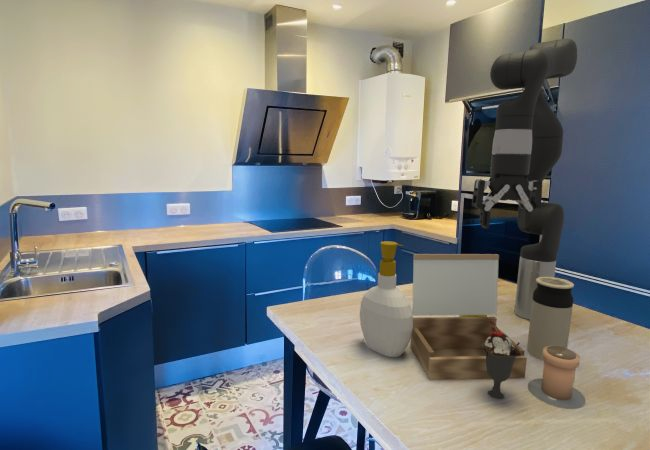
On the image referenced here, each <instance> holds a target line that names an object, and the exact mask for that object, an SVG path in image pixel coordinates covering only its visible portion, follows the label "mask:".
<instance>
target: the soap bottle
mask: <svg viewBox="0 0 650 450" xmlns="http://www.w3.org/2000/svg"><path fill="white" fill-rule="evenodd" d="M397 246H400V247H404V245H403V244H400V243H397V242H396V241H389V240H388V241H380V249H381V250H380V251H381V258H382V259H380V260H379V272H378V274H377V285H376V286H372V287H371V288H369V289H368V290H367V291H366V292H364V294H363V295H362V298H361V301H360V307H359V308H360V309H359V319H360V320H359V321H360V322H359V325H360V328H361V331H362V335H363V339H364V341H365V344H366V346H367V347H368V348H369V349H371V350H372V351H374V352H376V353H378V354H379V355H382V356H386V357H389V358H398V357H401V356H403V354H404V353H405V352H406V349H407V347H408V346H409V345H410V342H411V334H412V328H413V318H414V316H413V314H412V307H411V306H412V305H411V302H410V301H409V300H408V298H407V296H406V295H405V293H403V292H402V291H401V290H400V289H399V288H397V277H398V276H397V273H396V272H397V271H396V269H397V267H396V266H397V261H396V260H394V259H395V257H396V252H397V251H396V250H397Z"/></svg>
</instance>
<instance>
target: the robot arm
mask: <svg viewBox="0 0 650 450" xmlns="http://www.w3.org/2000/svg"><path fill="white" fill-rule="evenodd" d="M577 61H578V46H577V44H576V42H575V41H574V40H573V39H571V38H561V39H560V38H559V39H555V40H547V41H541V42H536V43H533V44H532V45H531V46H530V47H529V49H528V50H525V51H518V52H510V53H504V54H501V55H499V56H498V57H497V58H495V60H494V62H493V63H492V65H491V66H490V67H491V68H490V71H489V74H490V81H491V83H492V84H493V86H494V87H495V88H496V89H499V90H503V91H505V90H516V89H517V90H518V89H523V91H522V92H521V93H520V95H518V96H517V97H515V98H512V99H509V100H504V101H502V102H501V103H499V104H498V106H497V108H496V118H495V128H494V129H495V130H494V136H493V140H492V150H491V161H490V177H489V179H488V180H484V179H478V178H477V179H475V180H474V184H473V185H474V186H473V192H472V199H471V206H472V207H474V208H476V209H478V210H479V212H480V213H479V225H480V226H481V228H482V229H489V228H490V225H491V224H490V223H491V222H490V221H491V211H490V210H491V209H492V207H493V206H494V205H495V204H498V202H499V201H514V202H516V203H517V204H518V208H517V209H518V210H517V227H518V229H519V230H520V231H521V232H522V233H526V234H533V235H538V236H539V235H540V236H541V240H540V241H538V242H537V243H533V244H526V245H523V246H522V247H521V248H520V254H519V263H518V273H517V282H516V292H515V302H514V303H515V304H514V310H513V311H514V314H515V315H517V316H519V317H520V318H522V319H525V320H529V321H530V317H531V308H532V299H533V292H534V290H535V289H536V288H537V282H536V279H537V278H539V277H554V278H555V276H556V275H555V274H556V265H557V260H558V259H557V258H558V253H559V250H560V244H561V238H562V233H563V232H562V231H563V227H564V223H565V222H564V221H565V210H564V208H563V206H562V205H561V204H559V203H555V202H545V201H542V200H543V199H542V196H543V182H544V180H545V178H546V177H547V176H548V175H549V173H550V172H551V171H552V169H553V168H554V167H555V166H556V165H557V163H558V161H559V160H560V157H561V156H562V152H563V141H564V137H563V136H564V128H563V125H562V124H561V123H562V122H561V121H560V120H559V118H558V117H557V114H555V112H554V110H553V109H552V108H551V106H550V105H549V103H548V101H547V98H546V96H545V94H544V91H543V85H544V84H545V80H550V79H559V78H564V77H567V76H569V75H571V74H572V73H573V72H574V70H575V68H576V67H577V66H576V65H577V63H578V62H577ZM487 188H489V193H488V194H487V195H486V196H485V197H484V194H485V191H486V190H487Z"/></svg>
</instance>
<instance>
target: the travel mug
mask: <svg viewBox="0 0 650 450" xmlns="http://www.w3.org/2000/svg"><path fill="white" fill-rule="evenodd" d="M536 282H537V288H536V289H535V290H534V292H533V299H532V308H531V317H530V320H529V327H528V335H527V336H528V338H527V343H526V344H527V346H526V351H527V353H528V354H529V355H530V356H532V357H533V358H536V359H538V360H541V361H544V359H543V358H542V355H543V348H544V347H546V346H558V347H563V348H567V349H568V347H569V346H568V345H569V337H570V330H571V329H570V328H571V323H572V321H571V320H572V313H573V307H574V306H573V305H574V297H573V294H572V289H573V288H574V286H575V284H574V282H572V281H570V280H568V279H563V278H559V277H555V276H554V277H539V278H537V279H536Z"/></svg>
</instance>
